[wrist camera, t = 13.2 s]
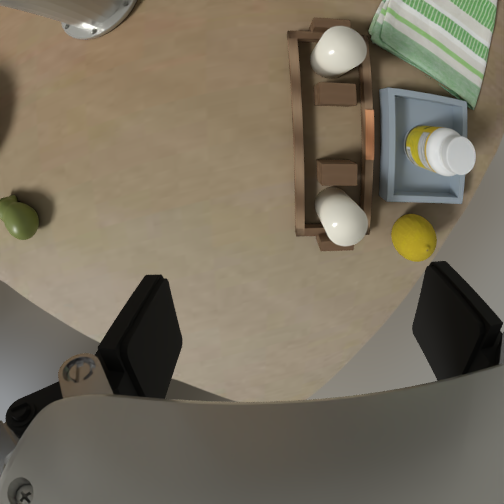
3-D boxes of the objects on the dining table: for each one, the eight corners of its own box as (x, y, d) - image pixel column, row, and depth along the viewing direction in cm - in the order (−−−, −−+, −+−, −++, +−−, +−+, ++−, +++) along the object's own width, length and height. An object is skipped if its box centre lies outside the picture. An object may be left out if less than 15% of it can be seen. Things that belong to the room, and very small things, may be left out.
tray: (379, 89, 31) (388, 87, 28) (454, 101, 30) (466, 101, 27) (378, 195, 36) (386, 201, 33) (451, 197, 35) (462, 203, 32)
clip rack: (286, 27, 28) (288, 17, 25) (363, 31, 28) (373, 23, 24) (295, 239, 39) (298, 251, 36) (365, 237, 38) (374, 249, 35)
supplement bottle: (441, 134, 31) (486, 143, 22) (430, 172, 34) (472, 190, 25) (408, 118, 31) (449, 120, 22) (397, 157, 33) (434, 171, 24)
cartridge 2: (314, 187, 36) (326, 204, 29) (349, 187, 36) (369, 204, 29) (314, 221, 38) (324, 246, 31) (348, 221, 38) (366, 245, 30)
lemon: (381, 245, 39) (402, 273, 32) (385, 205, 37) (410, 226, 29) (415, 244, 38) (441, 271, 31) (421, 207, 36) (450, 227, 29)
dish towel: (362, 42, 29) (368, 37, 26) (400, -64, 19) (406, -72, 17) (469, 110, 30) (480, 110, 28) (494, 0, 21) (503, -4, 18)
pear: (19, 250, 36) (-10, 222, 36) (42, 239, 41) (12, 213, 41) (21, 219, 34) (-8, 192, 34) (46, 210, 39) (14, 185, 39)
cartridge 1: (308, 43, 29) (318, 24, 22) (345, 45, 29) (364, 28, 21) (311, 78, 31) (322, 66, 23) (348, 79, 30) (368, 69, 23)
